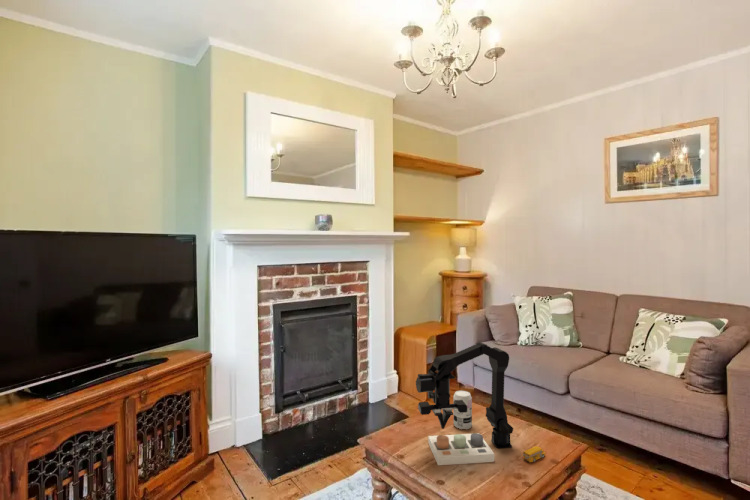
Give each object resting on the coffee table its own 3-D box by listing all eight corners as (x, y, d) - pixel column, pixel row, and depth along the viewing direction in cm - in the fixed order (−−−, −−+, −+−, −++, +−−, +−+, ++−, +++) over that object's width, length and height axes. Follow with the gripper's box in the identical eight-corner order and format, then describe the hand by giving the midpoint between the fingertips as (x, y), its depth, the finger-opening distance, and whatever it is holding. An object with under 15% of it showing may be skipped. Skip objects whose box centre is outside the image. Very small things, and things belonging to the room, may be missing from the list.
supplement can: (452, 421, 180) (452, 389, 180) (471, 422, 179) (470, 390, 179) (454, 429, 172) (453, 396, 172) (473, 430, 171) (472, 397, 171)
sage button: (463, 441, 156) (463, 433, 156) (467, 447, 152) (467, 440, 152) (452, 441, 156) (452, 434, 156) (455, 448, 151) (455, 440, 151)
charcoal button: (480, 440, 157) (480, 432, 157) (484, 446, 152) (484, 438, 152) (469, 440, 157) (469, 433, 157) (473, 447, 152) (473, 439, 152)
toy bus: (545, 456, 150) (545, 447, 150) (529, 464, 145) (529, 454, 145) (538, 453, 153) (538, 443, 153) (522, 460, 148) (522, 450, 148)
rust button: (447, 442, 156) (446, 434, 156) (450, 448, 151) (450, 441, 151) (435, 442, 155) (435, 435, 155) (438, 449, 151) (438, 441, 151)
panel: (479, 440, 163) (479, 432, 163) (494, 461, 147) (494, 453, 147) (428, 443, 161) (428, 435, 161) (438, 465, 145) (438, 457, 145)
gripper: (458, 381, 162) (459, 417, 162) (415, 383, 160) (415, 420, 160) (467, 391, 151) (468, 430, 151) (420, 393, 149) (421, 433, 149)
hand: (442, 428), depth 153 cm, fingers closed
